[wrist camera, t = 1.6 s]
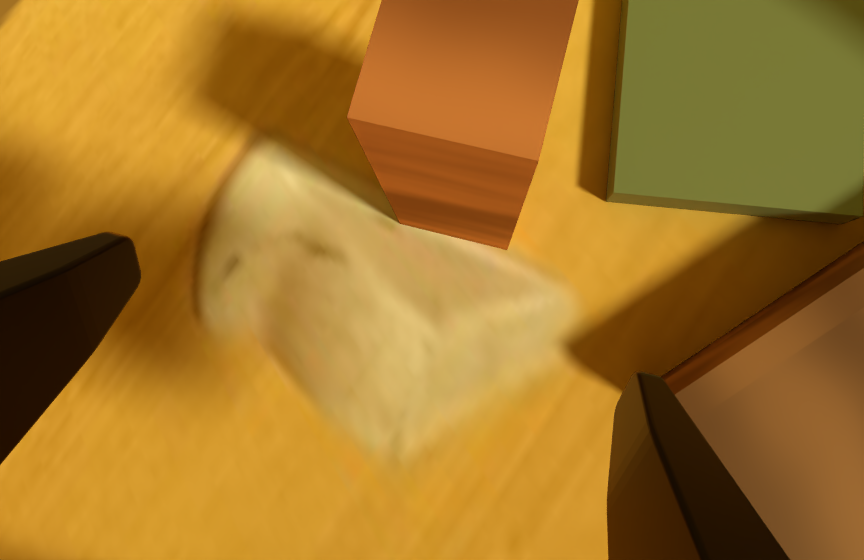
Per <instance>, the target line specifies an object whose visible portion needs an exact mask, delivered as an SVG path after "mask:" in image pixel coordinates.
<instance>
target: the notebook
mask: <svg viewBox="0 0 864 560" xmlns="http://www.w3.org/2000/svg"><path fill="white" fill-rule="evenodd" d="M863 177H864V0H622V6H621V19H620V31H619V44H618V56H617V69H616V81H615V94H614V106H613V119H612V131H611V144H610V156H609V169H608V181H607V194H606V202H616V203H626V204H637V205H647V206H657V207H668V208H678V209H689V210H699V211H709V212H720V213H730V214H740V215H751V216H761V217H772V218H782V219H792V220H803V221H813V222H824V223H834V224H843V223H846V222H848V221H851V220H854V219H857V218H859V217H862V216H863Z"/></svg>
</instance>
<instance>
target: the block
mask: <svg viewBox="0 0 864 560" xmlns="http://www.w3.org/2000/svg"><path fill="white" fill-rule="evenodd" d="M577 4H578V0H382V1H381V5H380V8H379V11H378V15H377V18H376V21H375V25H374V28H373V31H372V35H371V38H370V41H369V45H368V48H367V51H366V55H365V58H364V61H363V65H362V68H361V71H360V75H359V78H358V81H357V85H356V88H355V91H354V95H353V98H352V102H351V105H350V108H349V112H348V115H347V119H348V121H349V123H350V125H351V127H352V129H353V131H354V133H355V135H356V137H357V139H358V141H359V143H360V145H361V147H362V149H363V151H364V153H365V155H366V157H367V159H368V161H369V163H370V165H371V167H372V169H373V171H374V173H375V175H376V177H377V179H378V181H379V183H380V185H381V187H382V189H383V191H384V193H385V195H386V197H387V199H388V201H389V203H390V205H391V207H392V209H393V211H394V213H395V215H396V217H397V219H398V221H399V223H400V224H403V225H407V226H412V227H416V228H420V229H424V230H428V231H432V232H436V233H440V234H444V235H448V236H452V237H456V238H460V239H464V240H469V241H473V242H477V243H481V244H485V245H489V246H493V247H497V248H501V249H505V250H507V249H508V246H509V243H510V240H511V237H512V235H513V232H514V229H515V226H516V223H517V220H518V218H519V215H520V212H521V209H522V206H523V203H524V200H525V198H526V195H527V192H528V189H529V186H530V183H531V181H532V178H533V175H534V172H535V169H536V166H537V164H538V161H539V157H540V153H541V149H542V145H543V141H544V137H545V133H546V129H547V125H548V121H549V117H550V113H551V109H552V105H553V101H554V97H555V93H556V89H557V85H558V81H559V77H560V73H561V69H562V65H563V61H564V57H565V53H566V49H567V44H568V40H569V36H570V32H571V28H572V24H573V20H574V16H575V12H576V8H577Z"/></svg>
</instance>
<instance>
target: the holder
mask: <svg viewBox="0 0 864 560" xmlns="http://www.w3.org/2000/svg"><path fill="white" fill-rule="evenodd" d="M661 378H663V379H664V381H665V382H666V383H667V385H668V386H669V388H670V389H671V390H672V392H673V393H674V395H675V396H676V398H677V399H678V400H679V402H680V403H681V405H682V406H683V407H684V409H685V410H686V412H687V413H688V415H689V416H690V417H691V419H692V420H693V422H694V423H695V425H696V426H697V427H698V429H699V430H700V432H701V433H702V435H703V436H704V437H705V439H706V440H707V442H708V443H709V444H710V446H711V447H712V449H713V450H714V452H715V453H716V454H717V456H718V457H719V459H720V460H721V462H722V463H723V464H724V466H725V467H726V469H727V470H728V472H729V473H730V474H731V476H732V477H733V479H734V480H735V481H736V483H737V484H738V486H739V487H740V489H741V490H742V491H743V493H744V494H745V496H746V497H747V499H748V500H749V501H750V503H751V504H752V506H753V507H754V509H755V510H756V511H757V513H758V514H759V516H760V517H761V519H762V520H763V521H764V523H765V524H766V526H767V527H768V528H769V530H770V531H771V533H772V534H773V536H774V537H775V538H776V540H777V541H778V543H779V544H780V546H781V547H782V548H783V550H784V551H785V553H786V554H787V556H788V557H789V558H790V560H864V242H862V243H861V244H859V245H858V246H856V247H855V248H853V249H852V250H850V251H849V252H847V253H846V254H844V255H843V256H841V257H840V258H838V259H837V260H835V261H834V262H832V263H831V264H829V265H828V266H826V267H825V268H823V269H822V270H820V271H819V272H817V273H816V274H814V275H813V276H811V277H810V278H808V279H807V280H805V281H804V282H802V283H801V284H799V285H798V286H796V287H795V288H793V289H792V290H790V291H789V292H787V293H786V294H784V295H783V296H781V297H780V298H778V299H777V300H775V301H774V302H772V303H771V304H769V305H768V306H766V307H765V308H763V309H762V310H760V311H759V312H757V313H756V314H754V315H753V316H752V317H750V318H749V319H747V320H746V321H744V322H743V323H741V324H740V325H738V326H737V327H735V328H734V329H732V330H731V331H729V332H728V333H726V334H725V335H723V336H722V337H720V338H719V339H717V340H716V341H714V342H713V343H711V344H710V345H708V346H707V347H705V348H704V349H702V350H701V351H699V352H698V353H696V354H695V355H693V356H692V357H690V358H689V359H687V360H686V361H684V362H683V363H681V364H680V365H678V366H677V367H675V368H674V369H672V370H671V371H669V372H668V373H666V374H665V375H663V376H662V377H661Z"/></svg>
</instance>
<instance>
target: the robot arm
mask: <svg viewBox="0 0 864 560" xmlns="http://www.w3.org/2000/svg"><path fill="white" fill-rule="evenodd" d="M140 279H141V270H140V266H139V262H138V258H137V254H136V250H135V246H134V243H133V241H132V240H131V239H130V238H129V237H127V236H124V235H120V234H116V233H112V232H104V233H100V234H96V235H93V236H89V237H86V238H82V239H79V240H75V241H72V242H68V243H65V244H61V245H58V246H54V247H50V248H47V249H43V250H40V251H36V252H33V253H29V254H26V255H22V256H19V257H15V258H11V259H8V260H4V261H1V262H0V465H1V463H2V462H3V461H4V460H5V459H6V457H7V456H8V455H9V454H10V453H11V451H12V450H13V449H14V448H15V447H16V445H17V444H18V443H19V442H20V441H21V439H22V438H23V437H24V436H25V435H26V433H27V432H28V431H29V430H30V428H31V427H32V426H33V425H34V424H35V422H36V421H37V420H38V419H39V418H40V416H41V415H42V414H43V413H44V412H45V410H46V409H47V408H48V407H49V406H50V404H51V403H52V402H53V401H54V400H55V398H56V397H57V396H58V395H59V394H60V392H61V391H62V390H63V389H64V388H65V386H66V385H67V384H68V383H69V382H70V380H71V379H72V378H73V377H74V376H75V374H76V373H77V372H78V371H79V370H80V368H81V367H82V366H83V365H84V364H85V362H86V361H87V360H88V359H89V357H90V356H91V355H92V354H93V352H94V351H95V349H96V348H97V347H98V345H99V344H100V342H101V341H102V340H103V338H104V337H105V335H106V334H107V332H108V331H109V329H110V328H111V326H112V325H113V323H114V322H115V320H116V319H117V317H118V316H119V314H120V313H121V311H122V310H123V308H124V307H125V305H126V304H127V302H128V301H129V299H130V298H131V296H132V295H133V293H134V292H135V290H136V289H137V287H138V285H139V283H140ZM607 530H608V560H790V558H789V557H788V556H787V554H786V553H785V551H784V550H783V548H782V547H781V546H780V544H779V543H778V541H777V540H776V538H775V537H774V536H773V534H772V533H771V531H770V530H769V528H768V527H767V526H766V524H765V523H764V521H763V520H762V519H761V517H760V516H759V514H758V513H757V511H756V510H755V509H754V507H753V506H752V504H751V503H750V501H749V500H748V499H747V497H746V496H745V494H744V493H743V491H742V490H741V489H740V487H739V486H738V484H737V483H736V481H735V480H734V479H733V477H732V476H731V474H730V473H729V472H728V470H727V469H726V467H725V466H724V464H723V463H722V462H721V460H720V459H719V457H718V456H717V454H716V453H715V452H714V450H713V449H712V447H711V446H710V444H709V443H708V442H707V440H706V439H705V437H704V436H703V435H702V433H701V432H700V430H699V429H698V427H697V426H696V425H695V423H694V422H693V420H692V419H691V417H690V416H689V415H688V413H687V412H686V410H685V409H684V407H683V406H682V405H681V403H680V402H679V400H678V399H677V398H676V396H675V395H674V393H673V392H672V390H671V389H670V388H669V386H668V385H667V383H666V382H665V381H664V379H663V378H661V377H660V376H657V375H653V374H649V373H646V372H642V371H637V372H635V373H634V374H633V375H632V376H631V378H630V380H629V382H628V384H627V386H626V388H625V389H624V391H623V393H622V395H621V397H620V399H619V401H618V403H617V405H616V409H615V414H614V423H613V434H612V445H611V456H610V468H609V479H608V491H607Z"/></svg>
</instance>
